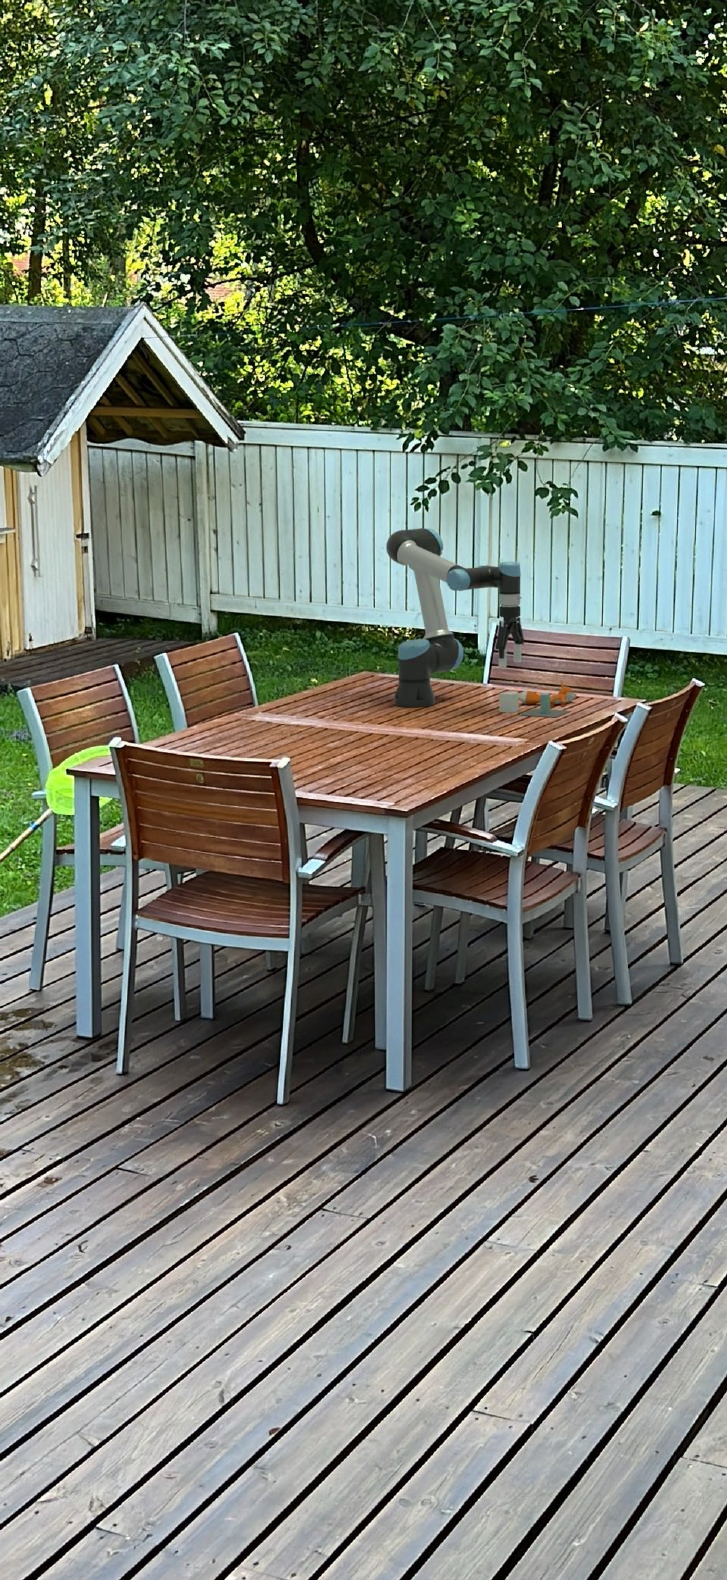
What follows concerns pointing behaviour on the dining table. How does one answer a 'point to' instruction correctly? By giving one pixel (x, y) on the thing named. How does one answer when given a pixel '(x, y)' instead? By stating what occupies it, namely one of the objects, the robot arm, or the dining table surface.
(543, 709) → the post
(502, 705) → the light grey block
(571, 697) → the toy
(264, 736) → the dining table surface
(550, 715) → the mat
